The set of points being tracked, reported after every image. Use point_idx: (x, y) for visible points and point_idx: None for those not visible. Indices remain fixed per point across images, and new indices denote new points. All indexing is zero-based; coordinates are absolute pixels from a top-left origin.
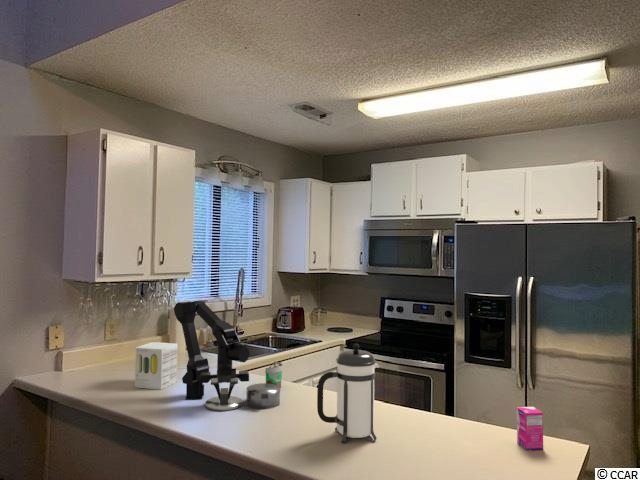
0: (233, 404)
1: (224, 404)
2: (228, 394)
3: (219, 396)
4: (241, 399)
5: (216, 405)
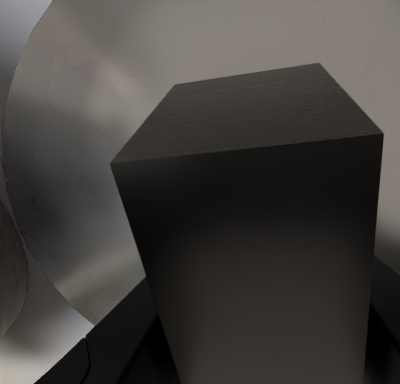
0: (87, 91)
1: (235, 75)
2: None
3: None
4: (55, 280)
5: (389, 31)
